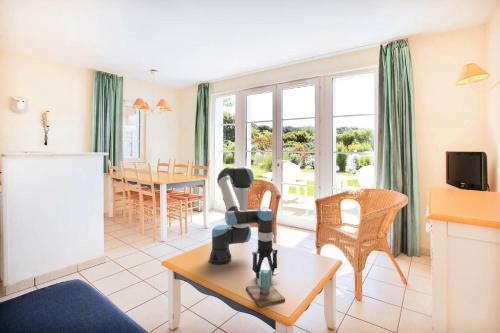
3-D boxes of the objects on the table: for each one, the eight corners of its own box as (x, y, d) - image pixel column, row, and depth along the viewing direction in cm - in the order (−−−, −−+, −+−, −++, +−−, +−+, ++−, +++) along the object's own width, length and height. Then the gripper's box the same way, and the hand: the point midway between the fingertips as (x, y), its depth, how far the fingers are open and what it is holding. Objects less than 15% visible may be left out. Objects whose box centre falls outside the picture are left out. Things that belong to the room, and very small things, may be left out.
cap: (259, 287, 128) (259, 274, 128) (260, 282, 134) (260, 269, 134) (269, 288, 128) (269, 274, 127) (270, 282, 133) (270, 270, 133)
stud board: (245, 288, 137) (246, 271, 136) (269, 283, 142) (269, 267, 142) (259, 307, 120) (259, 287, 120) (285, 301, 125) (285, 282, 125)
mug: (259, 285, 141) (259, 271, 140) (254, 276, 150) (254, 263, 150) (279, 282, 144) (279, 268, 143) (273, 274, 153) (273, 261, 153)
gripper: (251, 244, 123) (250, 290, 124) (284, 239, 130) (284, 283, 131) (245, 239, 130) (245, 283, 131) (277, 234, 137) (277, 276, 138)
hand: (264, 283), depth 131 cm, fingers closed on cap, 6 cm apart
